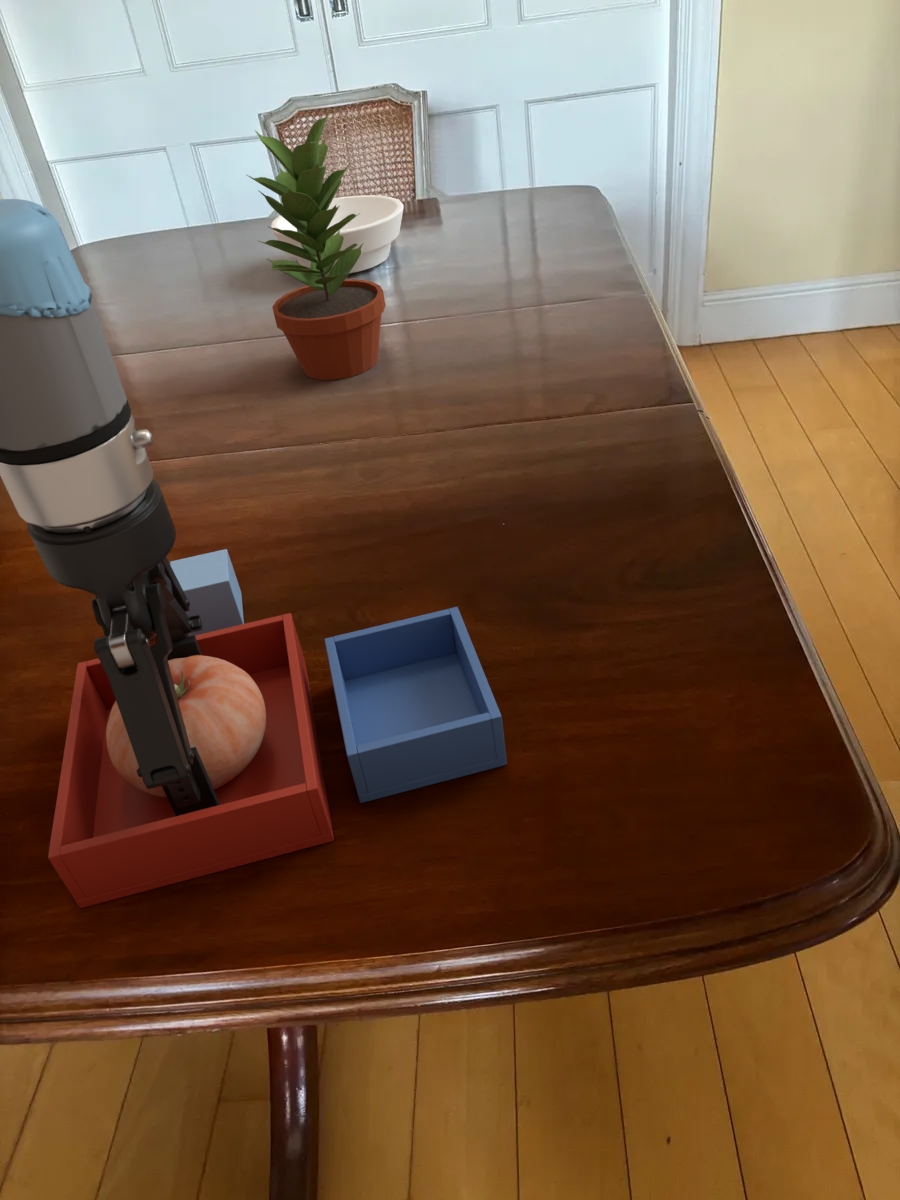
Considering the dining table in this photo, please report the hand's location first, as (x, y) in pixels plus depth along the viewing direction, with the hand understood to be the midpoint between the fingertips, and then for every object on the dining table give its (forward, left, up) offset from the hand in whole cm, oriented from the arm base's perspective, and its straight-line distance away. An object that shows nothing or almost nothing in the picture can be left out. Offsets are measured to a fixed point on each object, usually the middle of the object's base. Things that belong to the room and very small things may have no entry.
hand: (203, 760), depth 64 cm
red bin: (0, 0, -1) cm, 1 cm away
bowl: (+26, +112, -1) cm, 114 cm away
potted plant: (+19, +69, -1) cm, 71 cm away
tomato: (0, 0, 0) cm, 0 cm away
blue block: (+1, +19, -1) cm, 19 cm away
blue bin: (+15, 0, -1) cm, 16 cm away
